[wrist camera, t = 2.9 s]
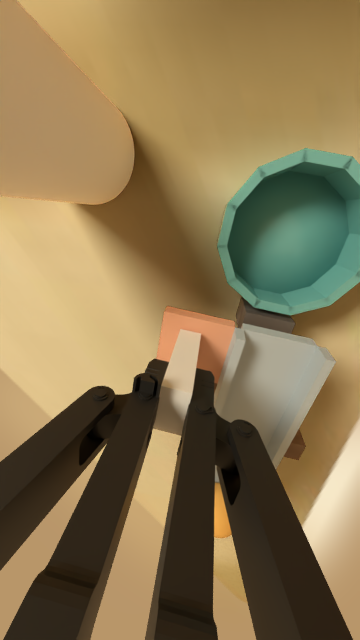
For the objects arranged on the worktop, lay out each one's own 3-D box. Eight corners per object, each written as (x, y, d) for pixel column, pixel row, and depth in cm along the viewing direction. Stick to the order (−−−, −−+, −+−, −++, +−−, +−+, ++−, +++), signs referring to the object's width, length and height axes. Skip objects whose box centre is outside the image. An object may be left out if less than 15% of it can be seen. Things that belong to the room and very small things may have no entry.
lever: (169, 301, 19) (159, 320, 16) (319, 334, 19) (339, 362, 15) (141, 462, 28) (131, 496, 25) (243, 489, 27) (246, 527, 24)
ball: (203, 468, 24) (199, 517, 20) (245, 479, 23) (248, 531, 20) (195, 491, 26) (190, 539, 22) (233, 501, 25) (234, 551, 22)
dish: (238, 151, 20) (242, 136, 16) (379, 178, 19) (418, 168, 16) (207, 284, 24) (204, 296, 21) (321, 309, 24) (341, 326, 20)
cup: (141, 103, 20) (-77, -217, 5) (127, 214, 23) (-30, 209, 8) (43, 81, 20) (-420, -274, 6) (43, 193, 23) (-248, 155, 9)
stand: (206, 288, 25) (200, 319, 17) (319, 313, 24) (363, 356, 17) (172, 429, 32) (159, 492, 25) (258, 451, 32) (270, 522, 24)
